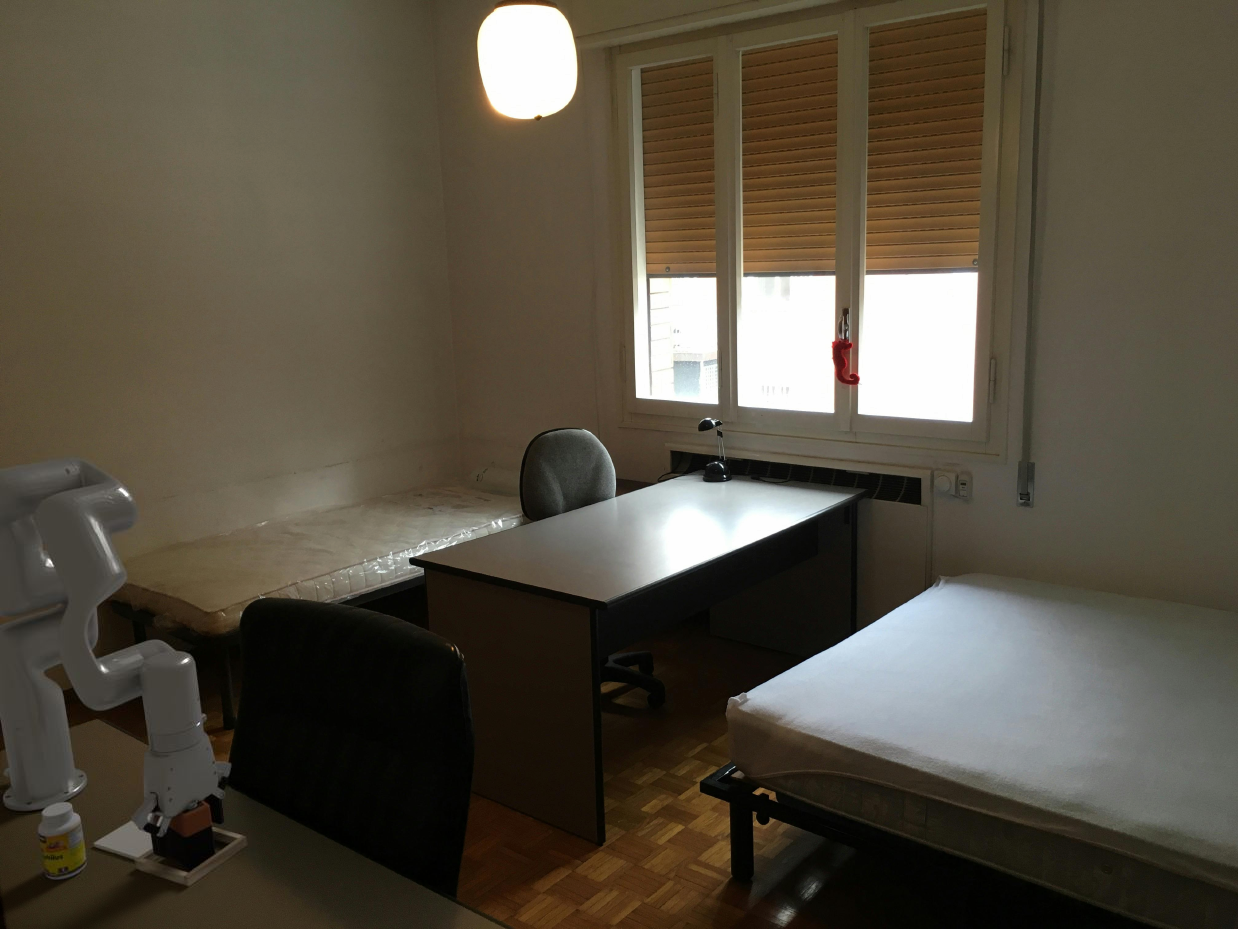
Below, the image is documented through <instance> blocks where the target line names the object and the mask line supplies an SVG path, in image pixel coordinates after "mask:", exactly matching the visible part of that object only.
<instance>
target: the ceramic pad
mask: <svg viewBox="0 0 1238 929" xmlns="http://www.w3.org/2000/svg"><path fill="white" fill-rule="evenodd" d="M152 814H153V813H150V814H149V815H148V817H147V819H148V821H149V820H150V818H151V816H152ZM162 818H163V817H161V816H160V819H159V821H158V823H157V826H159V825H160V822H161V820H162ZM93 847H94V848H98V849H101V850H103V851H106V852H110V853H112V854H115V853H116V855H119V856H122V857H125V858H127V859H131V860H133V861H135V860H136V859H137V858H139V857H140V856H142V855H143V854H145V853H147V852H148V851H150V850H151V849H153V847H152V840H151V834H150V833H147V832H144V831H142V830H139V829H138V827H137V826H136V825H135V824H134V822H133V821H132V820H130V821H128V822H127V823H125V824H123V825H121V826H119V827H118V828H116V829H115V830H113V831H111V832H110V833H108V834H107V835H104V836H103V837H101V838H100V839H98V840H96V841H95V842H93Z"/></svg>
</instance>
